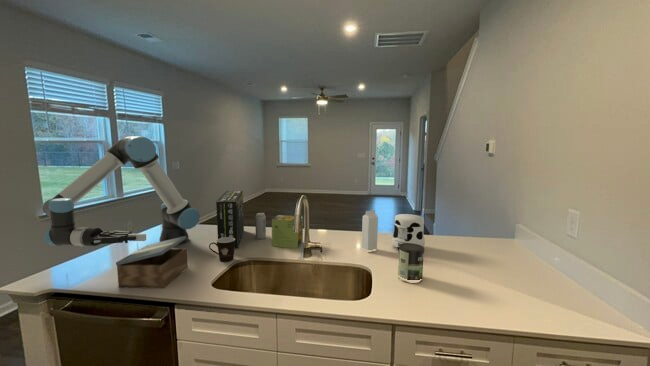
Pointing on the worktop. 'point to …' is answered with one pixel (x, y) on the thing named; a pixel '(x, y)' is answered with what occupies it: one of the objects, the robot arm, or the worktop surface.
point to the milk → (369, 230)
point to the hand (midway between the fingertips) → (145, 237)
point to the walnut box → (153, 270)
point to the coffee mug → (225, 248)
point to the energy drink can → (260, 225)
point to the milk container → (408, 230)
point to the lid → (151, 250)
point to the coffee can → (411, 261)
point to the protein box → (286, 232)
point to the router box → (230, 216)
